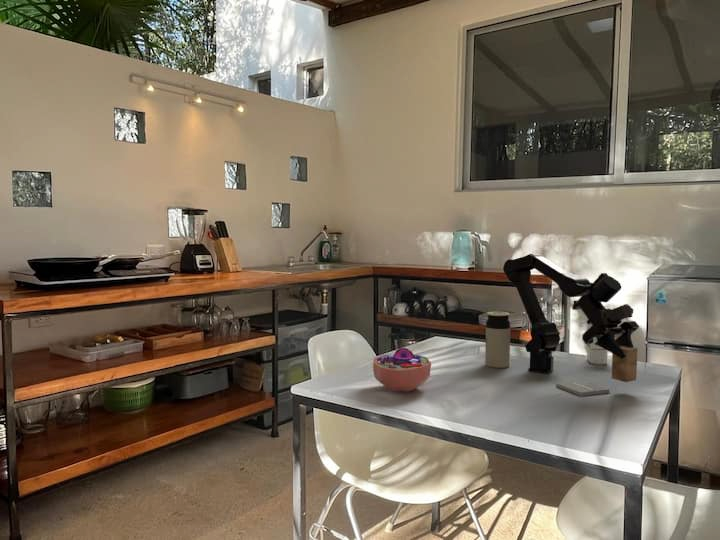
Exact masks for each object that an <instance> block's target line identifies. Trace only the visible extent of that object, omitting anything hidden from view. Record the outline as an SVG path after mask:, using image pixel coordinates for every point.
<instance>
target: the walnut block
mask: <svg viewBox="0 0 720 540" xmlns="http://www.w3.org/2000/svg"><path fill="white" fill-rule="evenodd" d="M620 348H621V350H622V351H623V353H624V355H625V357H624V358H623V359H622V358H620V357H618V356H616V355H615V354H613V353H611V354H612V355H611V357H612V358H611V359H612V360H611V379H612V380H615V381H621V382H624V383H628V382H633V381H637V371H638V369H637V368H638V347H634V346H633V347H628V346H623V345H622V346H620Z"/></svg>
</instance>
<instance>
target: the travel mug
mask: <svg viewBox="0 0 720 540" xmlns="http://www.w3.org/2000/svg"><path fill="white" fill-rule="evenodd" d="M486 315H487V320H486V322H485V352H484V353H485V355H484V356H485V357H484V358H485V359H484V360H485V362H484V363H485V366H487V367H489V368H493V369H494V368H495V369H506V368H508V367H510V364H511V363H510V361H511V360H510V359H511V358H510V355H511V353H510V352H511V348H510V347H511V322H510V320H509V317H510V315H511V314H510V313H509V312H505V311H489V312H488V311H487V313H486Z"/></svg>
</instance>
